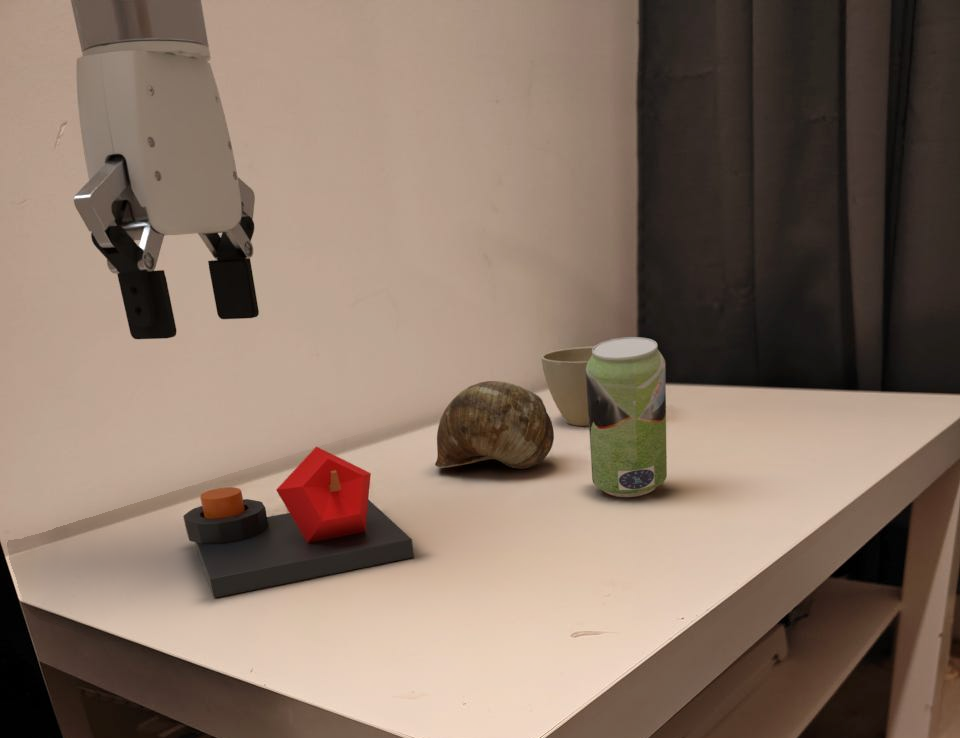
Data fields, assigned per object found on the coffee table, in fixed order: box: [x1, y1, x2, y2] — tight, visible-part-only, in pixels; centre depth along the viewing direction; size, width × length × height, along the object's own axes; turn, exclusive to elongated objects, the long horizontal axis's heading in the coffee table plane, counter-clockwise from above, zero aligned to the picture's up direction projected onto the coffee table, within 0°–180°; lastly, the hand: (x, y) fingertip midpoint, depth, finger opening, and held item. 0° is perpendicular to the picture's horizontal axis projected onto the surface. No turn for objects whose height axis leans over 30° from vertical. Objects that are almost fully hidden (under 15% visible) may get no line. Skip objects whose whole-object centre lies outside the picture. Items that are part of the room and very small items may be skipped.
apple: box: [275, 446, 372, 543], centre depth 66 cm, size 7×7×8 cm
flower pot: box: [540, 345, 595, 427], centre depth 100 cm, size 10×10×7 cm
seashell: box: [434, 380, 555, 470], centre depth 85 cm, size 11×9×8 cm
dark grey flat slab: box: [183, 498, 415, 599], centre depth 69 cm, size 14×13×3 cm
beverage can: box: [586, 336, 668, 498], centre depth 74 cm, size 6×7×12 cm
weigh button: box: [199, 486, 245, 519], centre depth 70 cm, size 3×3×2 cm
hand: (199, 327), depth 64 cm, fingers open, 9 cm apart
